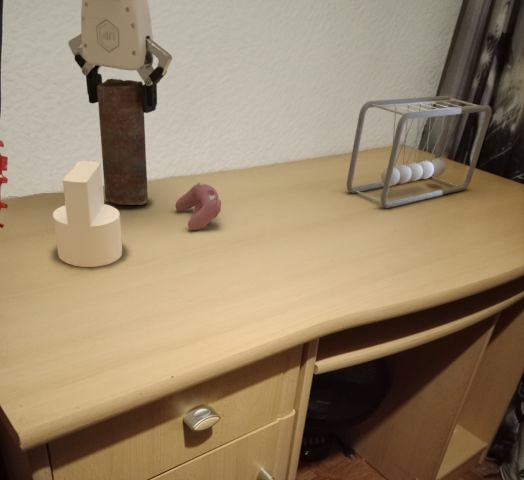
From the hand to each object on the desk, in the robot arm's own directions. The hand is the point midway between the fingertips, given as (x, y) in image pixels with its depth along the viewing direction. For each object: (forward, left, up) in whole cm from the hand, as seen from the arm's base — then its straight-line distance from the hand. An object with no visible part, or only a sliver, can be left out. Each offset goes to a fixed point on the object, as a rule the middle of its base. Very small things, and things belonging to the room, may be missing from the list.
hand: (122, 106), depth 87 cm
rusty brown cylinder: (0, 0, -16) cm, 16 cm away
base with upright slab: (+6, -20, -16) cm, 26 cm away
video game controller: (+14, 0, -16) cm, 21 cm away
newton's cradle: (+46, +39, -16) cm, 62 cm away
